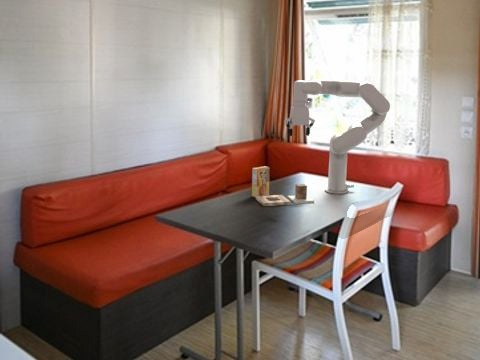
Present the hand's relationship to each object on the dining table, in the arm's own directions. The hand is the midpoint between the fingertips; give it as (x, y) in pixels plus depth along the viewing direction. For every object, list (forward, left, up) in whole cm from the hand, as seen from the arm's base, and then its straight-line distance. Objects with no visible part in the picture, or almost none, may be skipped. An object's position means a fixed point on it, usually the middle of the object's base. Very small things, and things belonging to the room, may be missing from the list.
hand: (299, 135), depth 294 cm
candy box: (+24, +8, -31) cm, 39 cm away
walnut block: (+6, +21, -29) cm, 36 cm away
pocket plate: (+21, +21, -30) cm, 42 cm away
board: (+6, +21, -30) cm, 37 cm away
